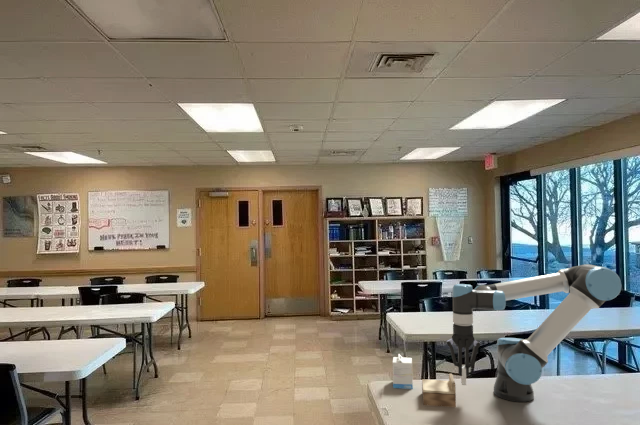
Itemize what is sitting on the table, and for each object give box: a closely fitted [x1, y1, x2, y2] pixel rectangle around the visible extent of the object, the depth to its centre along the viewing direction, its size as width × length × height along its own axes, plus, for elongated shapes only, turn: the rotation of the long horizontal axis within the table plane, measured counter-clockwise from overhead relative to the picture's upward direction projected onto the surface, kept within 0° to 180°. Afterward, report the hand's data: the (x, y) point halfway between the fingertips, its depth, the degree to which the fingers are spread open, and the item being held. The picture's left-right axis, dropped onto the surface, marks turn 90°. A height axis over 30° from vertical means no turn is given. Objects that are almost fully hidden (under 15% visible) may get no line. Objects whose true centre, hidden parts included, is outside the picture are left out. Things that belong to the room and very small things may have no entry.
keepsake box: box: [421, 383, 457, 408], centre depth 169 cm, size 12×12×5 cm
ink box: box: [392, 353, 414, 390], centre depth 186 cm, size 9×8×13 cm
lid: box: [421, 373, 457, 395], centre depth 169 cm, size 12×12×4 cm
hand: (463, 383), depth 167 cm, fingers closed
